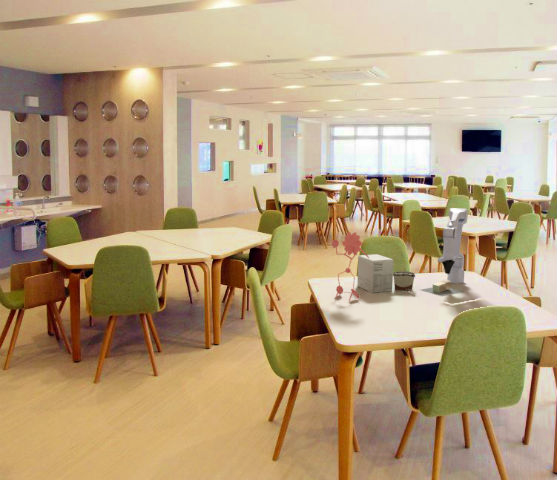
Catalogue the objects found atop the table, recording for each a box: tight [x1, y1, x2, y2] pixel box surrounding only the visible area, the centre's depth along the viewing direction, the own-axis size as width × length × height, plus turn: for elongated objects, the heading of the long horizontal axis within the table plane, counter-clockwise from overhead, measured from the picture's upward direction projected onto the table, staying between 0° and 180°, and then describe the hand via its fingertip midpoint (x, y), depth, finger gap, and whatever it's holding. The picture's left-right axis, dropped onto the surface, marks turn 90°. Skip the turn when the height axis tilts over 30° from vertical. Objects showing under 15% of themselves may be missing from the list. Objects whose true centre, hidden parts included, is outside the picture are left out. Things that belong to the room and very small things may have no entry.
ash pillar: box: [432, 279, 452, 293], centre depth 325 cm, size 4×4×10 cm
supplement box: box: [356, 253, 394, 294], centre depth 332 cm, size 17×13×18 cm
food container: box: [393, 270, 416, 292], centre depth 331 cm, size 12×6×10 cm, turn 84°
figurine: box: [331, 231, 369, 304], centre depth 312 cm, size 15×26×35 cm, turn 43°
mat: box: [420, 286, 465, 297], centre depth 326 cm, size 18×16×2 cm
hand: (447, 273), depth 326 cm, fingers closed
